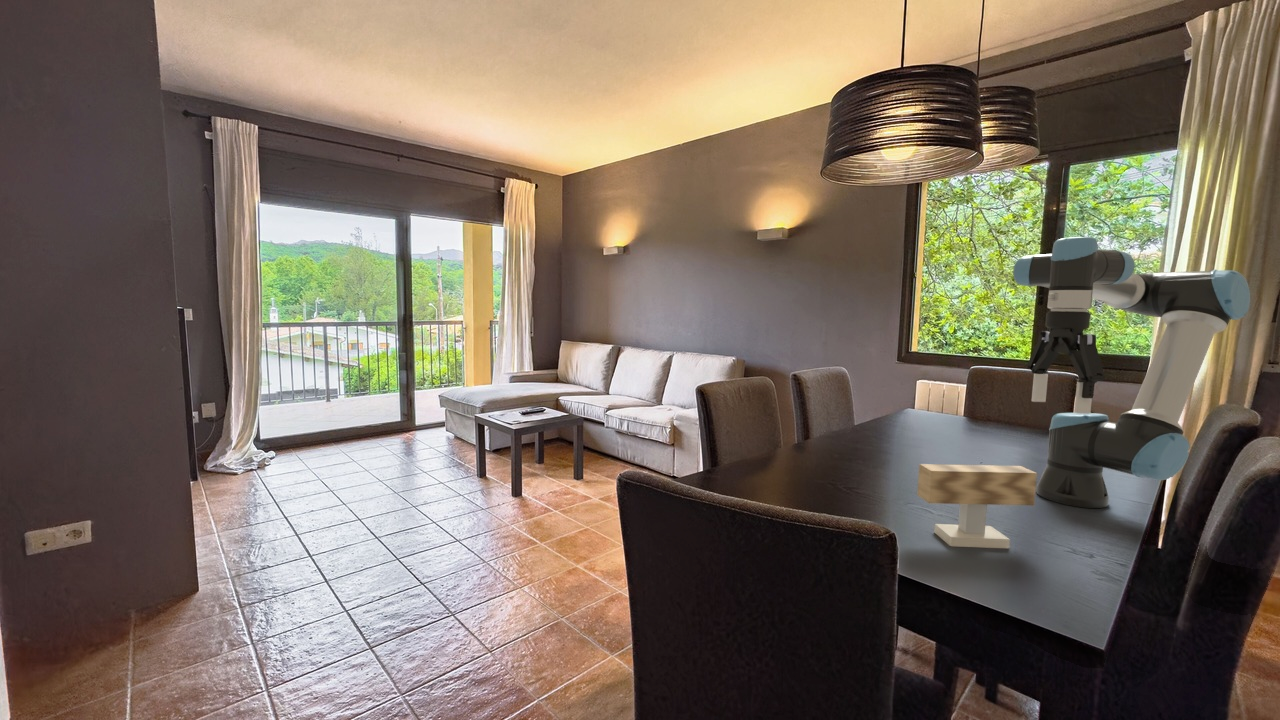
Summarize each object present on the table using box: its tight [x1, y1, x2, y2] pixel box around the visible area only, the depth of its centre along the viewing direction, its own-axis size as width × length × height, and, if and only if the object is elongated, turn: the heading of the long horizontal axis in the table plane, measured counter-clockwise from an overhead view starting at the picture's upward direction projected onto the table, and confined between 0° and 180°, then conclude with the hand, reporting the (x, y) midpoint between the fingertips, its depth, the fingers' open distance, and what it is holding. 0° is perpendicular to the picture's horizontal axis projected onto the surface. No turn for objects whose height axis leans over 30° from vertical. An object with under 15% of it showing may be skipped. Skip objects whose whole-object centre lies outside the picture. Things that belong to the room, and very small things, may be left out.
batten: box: [916, 463, 1038, 506], centre depth 117 cm, size 22×5×7 cm, turn 89°
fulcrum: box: [933, 504, 1011, 549], centre depth 118 cm, size 12×7×9 cm, turn 87°
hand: (1059, 407), depth 120 cm, fingers open, 13 cm apart
